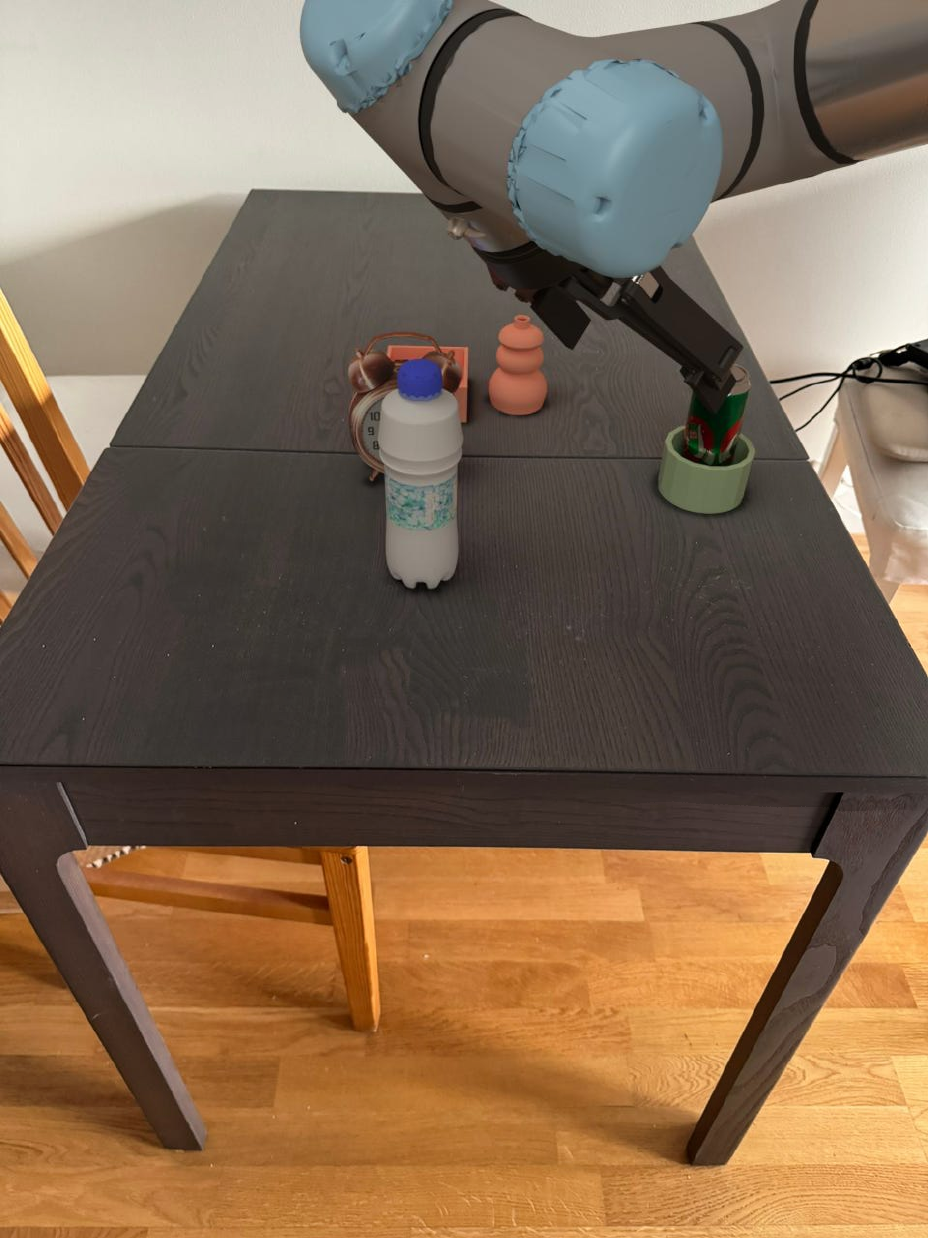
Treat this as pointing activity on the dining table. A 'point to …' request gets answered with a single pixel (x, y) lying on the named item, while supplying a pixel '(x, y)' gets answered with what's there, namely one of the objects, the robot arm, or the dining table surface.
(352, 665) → the dining table surface
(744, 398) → the soda can
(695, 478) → the cup
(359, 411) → the alarm clock
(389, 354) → the pottery
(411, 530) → the bottle
